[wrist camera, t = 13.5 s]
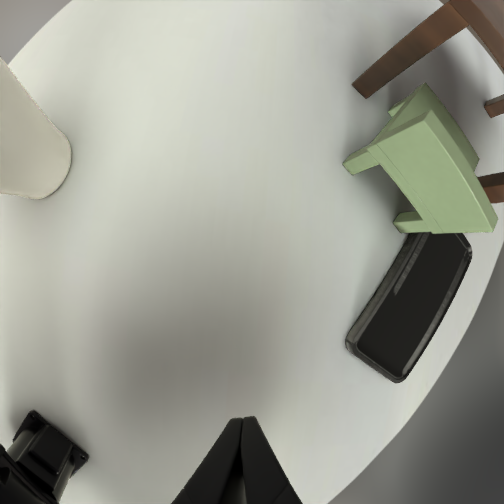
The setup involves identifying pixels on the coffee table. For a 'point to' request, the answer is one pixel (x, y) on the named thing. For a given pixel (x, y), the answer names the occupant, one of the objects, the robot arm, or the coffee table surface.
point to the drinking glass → (28, 143)
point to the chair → (429, 167)
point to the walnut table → (431, 36)
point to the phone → (410, 303)
